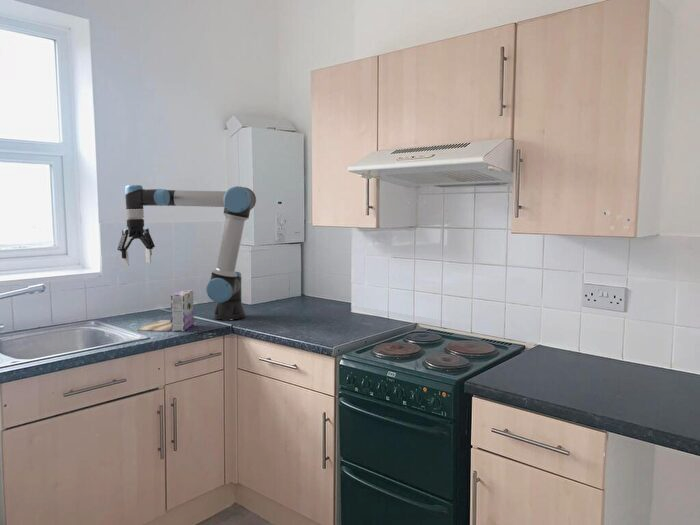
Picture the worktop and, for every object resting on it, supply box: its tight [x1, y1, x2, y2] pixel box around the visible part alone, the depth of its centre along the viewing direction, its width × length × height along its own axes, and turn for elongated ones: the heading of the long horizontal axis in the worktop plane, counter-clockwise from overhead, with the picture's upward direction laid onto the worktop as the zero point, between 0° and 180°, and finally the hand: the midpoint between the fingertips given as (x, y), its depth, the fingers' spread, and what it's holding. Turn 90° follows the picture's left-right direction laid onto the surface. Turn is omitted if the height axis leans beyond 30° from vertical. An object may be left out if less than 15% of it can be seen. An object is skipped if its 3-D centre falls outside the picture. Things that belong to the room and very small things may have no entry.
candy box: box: [170, 289, 195, 332], centre depth 250 cm, size 14×6×16 cm, turn 178°
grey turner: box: [157, 319, 172, 323], centre depth 264 cm, size 16×4×1 cm, turn 84°
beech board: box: [136, 321, 172, 333], centre depth 252 cm, size 14×16×1 cm
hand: (137, 264), depth 261 cm, fingers open, 13 cm apart
